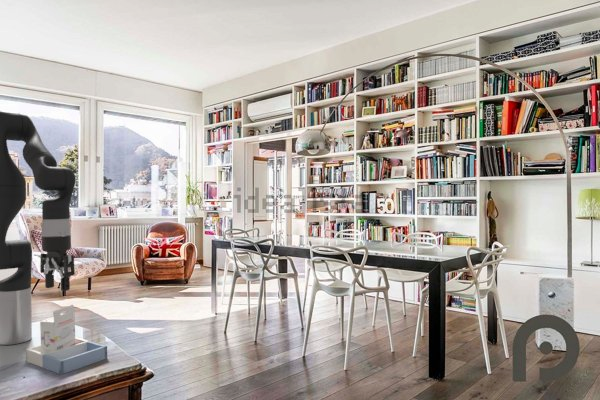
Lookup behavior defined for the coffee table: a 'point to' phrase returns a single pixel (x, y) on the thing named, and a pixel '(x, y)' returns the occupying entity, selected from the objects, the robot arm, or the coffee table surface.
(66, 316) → the ink cartridge box
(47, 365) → the organizer tray
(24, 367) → the coffee table surface
